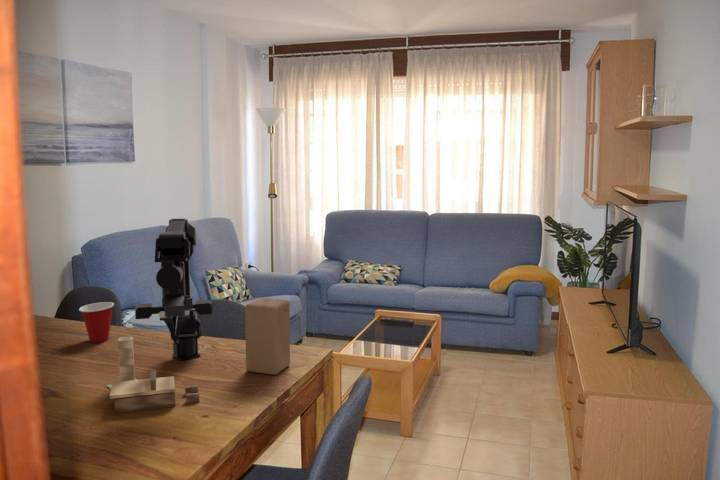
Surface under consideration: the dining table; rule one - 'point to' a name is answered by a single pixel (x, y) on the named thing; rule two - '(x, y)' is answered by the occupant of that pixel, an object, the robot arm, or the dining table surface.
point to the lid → (142, 386)
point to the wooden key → (126, 358)
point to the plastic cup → (97, 320)
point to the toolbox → (153, 400)
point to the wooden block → (267, 335)
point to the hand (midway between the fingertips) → (175, 341)
